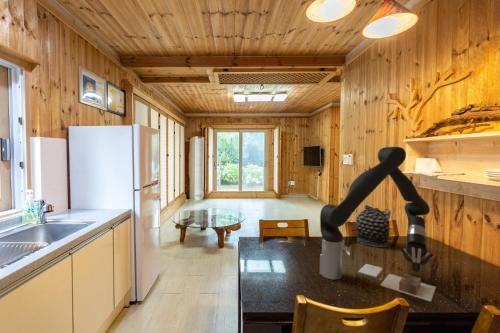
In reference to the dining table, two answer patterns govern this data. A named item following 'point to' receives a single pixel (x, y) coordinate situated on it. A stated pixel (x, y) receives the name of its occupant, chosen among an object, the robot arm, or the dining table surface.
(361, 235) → the dark studded dome
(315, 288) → the dining table surface
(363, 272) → the external hard drive
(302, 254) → the dining table surface
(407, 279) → the card box
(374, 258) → the dining table surface
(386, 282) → the mat
